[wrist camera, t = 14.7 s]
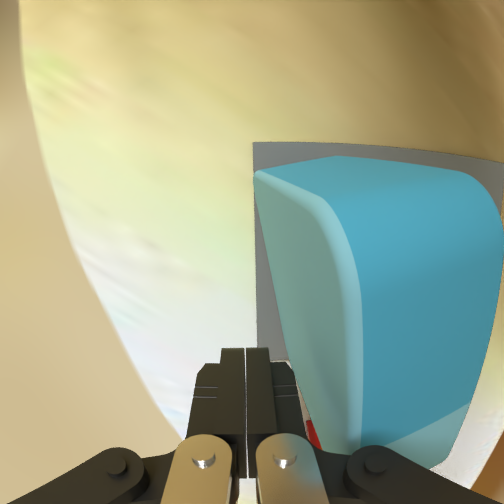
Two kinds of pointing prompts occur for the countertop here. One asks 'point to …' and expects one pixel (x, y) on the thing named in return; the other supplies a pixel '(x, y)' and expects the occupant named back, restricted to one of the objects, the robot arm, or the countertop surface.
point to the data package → (383, 296)
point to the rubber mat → (285, 153)
